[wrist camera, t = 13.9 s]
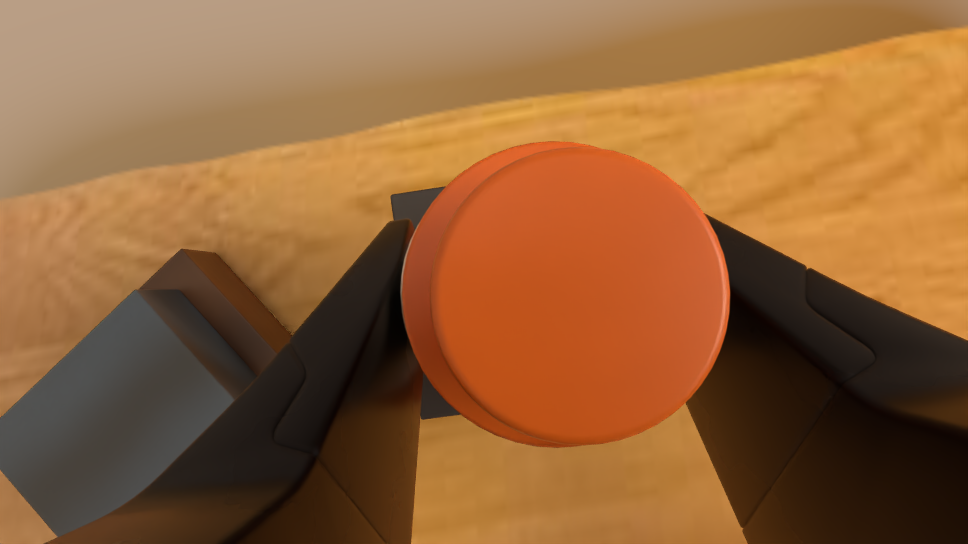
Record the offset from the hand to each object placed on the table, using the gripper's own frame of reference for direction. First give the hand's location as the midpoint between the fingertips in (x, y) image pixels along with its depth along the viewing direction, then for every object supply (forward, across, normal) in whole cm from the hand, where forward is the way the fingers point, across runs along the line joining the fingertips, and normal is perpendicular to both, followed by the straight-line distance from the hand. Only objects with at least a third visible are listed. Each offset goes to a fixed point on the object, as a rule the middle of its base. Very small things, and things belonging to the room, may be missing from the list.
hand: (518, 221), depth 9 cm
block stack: (+6, +15, +13) cm, 21 cm away
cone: (+4, 0, +6) cm, 7 cm away
